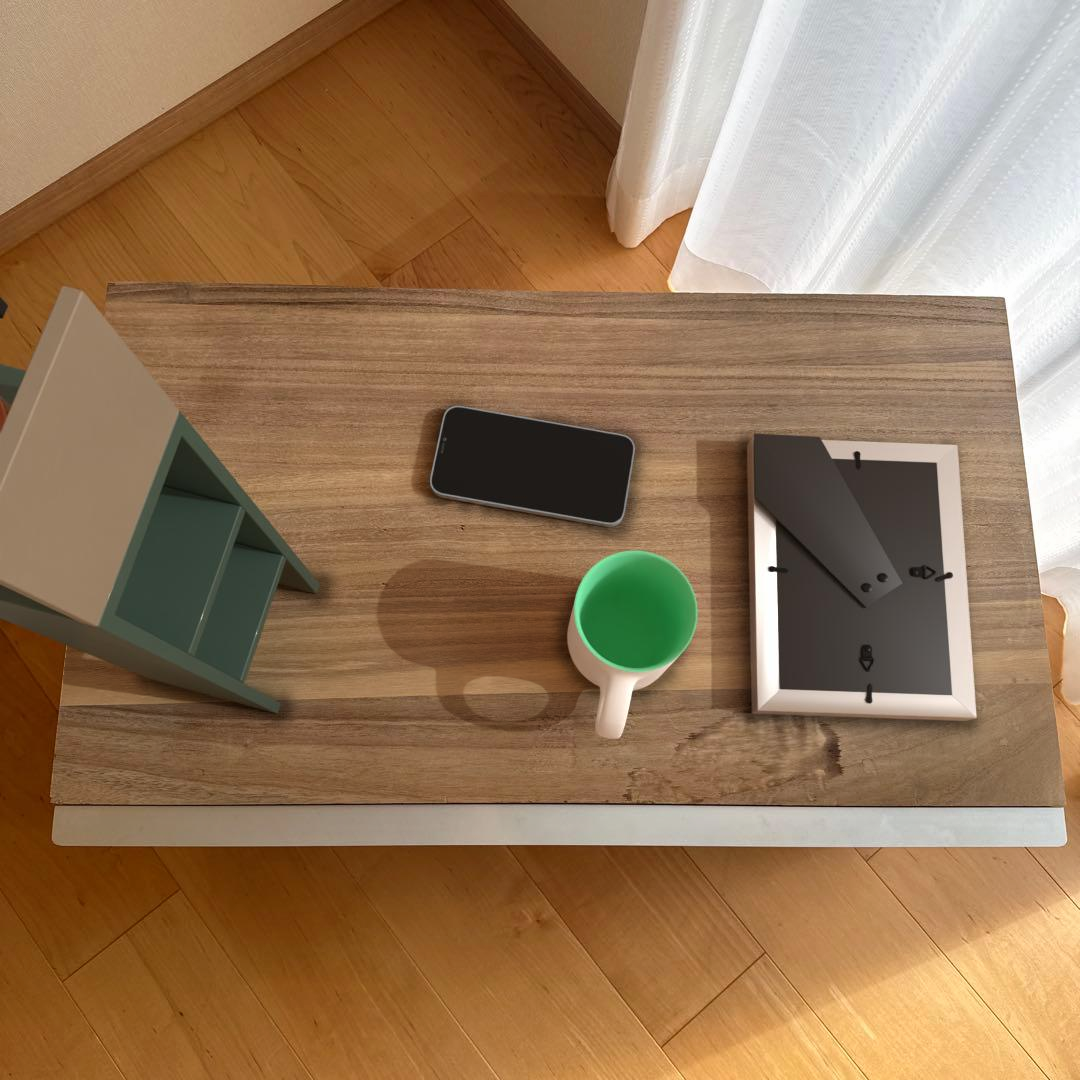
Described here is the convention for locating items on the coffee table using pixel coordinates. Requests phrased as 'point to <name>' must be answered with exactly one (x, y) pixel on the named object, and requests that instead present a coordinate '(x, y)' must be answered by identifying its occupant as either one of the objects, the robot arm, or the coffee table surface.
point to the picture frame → (858, 580)
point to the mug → (629, 628)
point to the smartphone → (533, 466)
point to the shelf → (129, 519)
